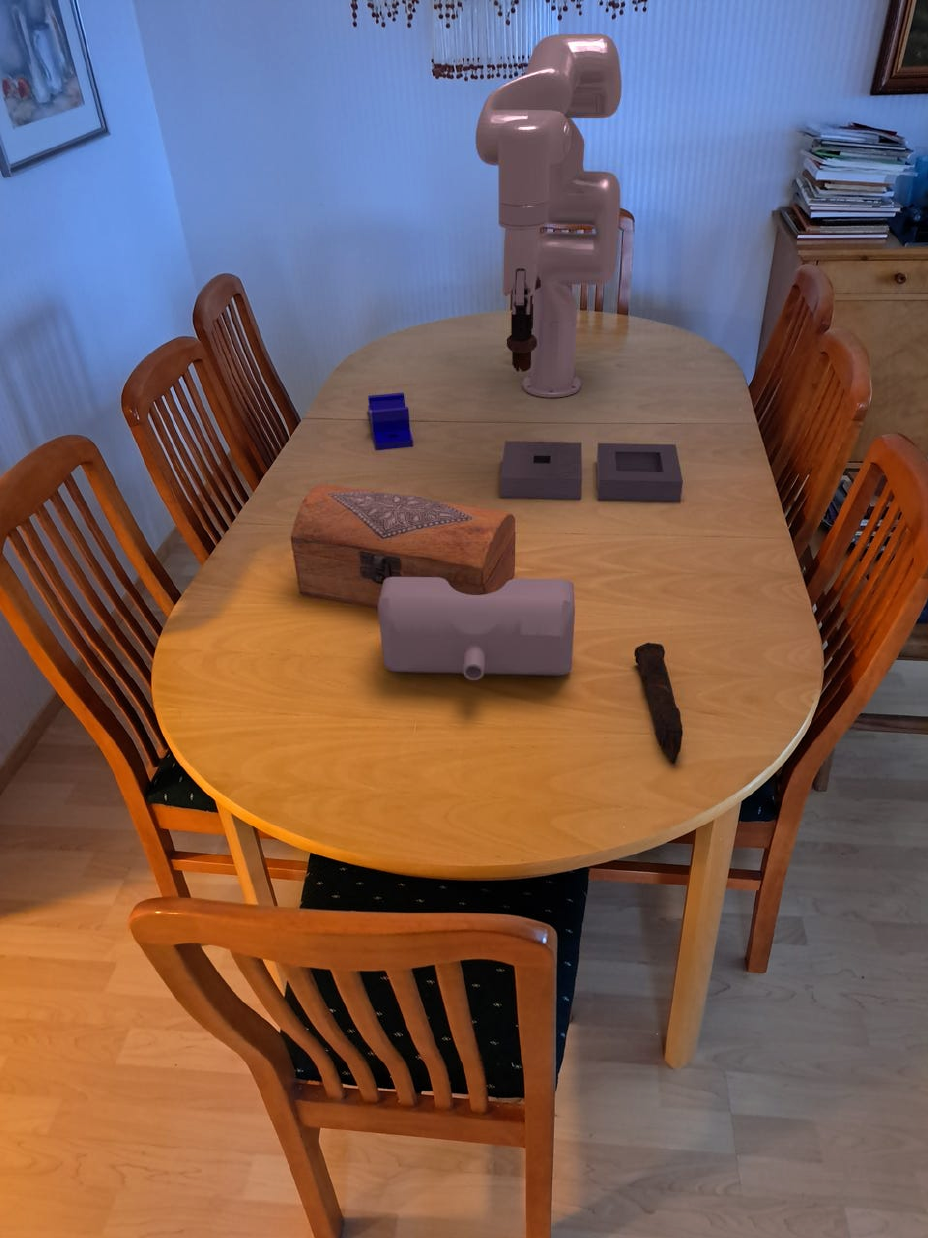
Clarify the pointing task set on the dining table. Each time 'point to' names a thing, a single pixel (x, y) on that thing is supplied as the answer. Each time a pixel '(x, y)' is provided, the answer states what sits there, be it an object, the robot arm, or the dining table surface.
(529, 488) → the narrow-bore block
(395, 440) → the mounting bracket
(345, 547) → the wooden box
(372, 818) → the dining table surface
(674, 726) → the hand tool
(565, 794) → the dining table surface
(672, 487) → the wide-bore block
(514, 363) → the bolt
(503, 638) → the tank
